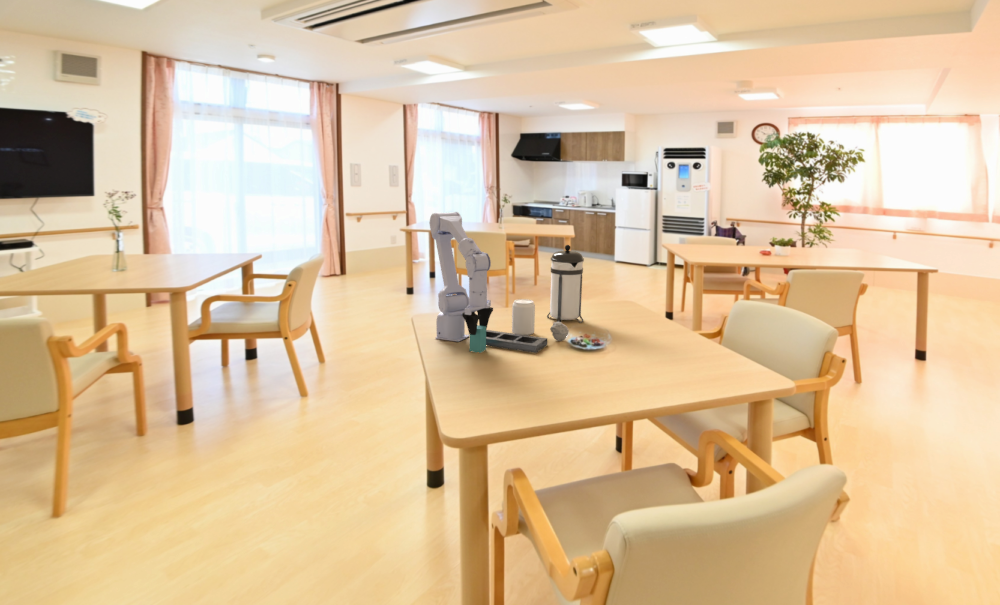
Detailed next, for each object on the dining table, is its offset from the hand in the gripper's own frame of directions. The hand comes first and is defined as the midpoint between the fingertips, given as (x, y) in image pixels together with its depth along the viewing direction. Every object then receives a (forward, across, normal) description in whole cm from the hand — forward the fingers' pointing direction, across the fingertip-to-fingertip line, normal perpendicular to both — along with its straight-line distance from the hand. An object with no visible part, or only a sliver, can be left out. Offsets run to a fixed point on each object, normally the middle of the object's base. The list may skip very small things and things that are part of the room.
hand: (478, 331), depth 196 cm
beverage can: (+6, +26, -5) cm, 27 cm away
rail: (+6, +11, -6) cm, 14 cm away
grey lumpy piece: (+7, +23, -20) cm, 31 cm away
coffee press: (+6, +52, -11) cm, 54 cm away
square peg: (+6, 0, 0) cm, 6 cm away
